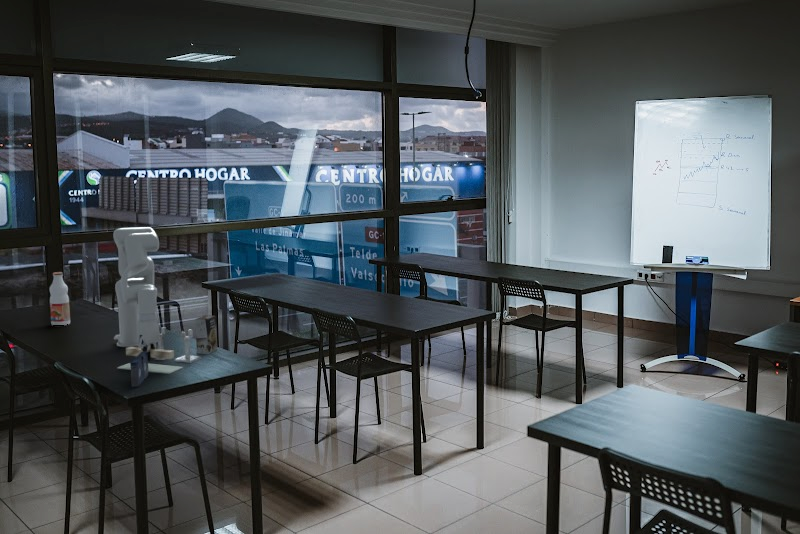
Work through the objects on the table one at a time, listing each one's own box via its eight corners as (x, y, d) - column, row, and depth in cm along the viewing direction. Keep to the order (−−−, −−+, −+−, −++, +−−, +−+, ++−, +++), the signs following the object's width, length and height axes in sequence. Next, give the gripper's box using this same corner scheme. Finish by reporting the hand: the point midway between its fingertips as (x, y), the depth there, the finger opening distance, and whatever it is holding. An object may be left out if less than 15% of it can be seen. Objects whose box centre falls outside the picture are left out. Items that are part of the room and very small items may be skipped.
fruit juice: (72, 324, 426) (69, 272, 423) (54, 327, 421) (51, 274, 417) (67, 321, 434) (64, 270, 430) (49, 324, 428) (45, 272, 424)
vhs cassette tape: (142, 374, 328) (141, 351, 326) (150, 374, 328) (148, 351, 326) (130, 387, 309) (128, 362, 308) (137, 387, 310) (136, 362, 308)
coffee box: (209, 354, 361) (208, 319, 359) (196, 353, 362) (194, 318, 360) (217, 349, 370) (216, 315, 368) (204, 349, 371) (203, 314, 369)
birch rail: (126, 355, 339) (125, 348, 339) (130, 353, 342) (130, 346, 341) (169, 359, 332) (169, 352, 331) (174, 357, 334) (173, 350, 334)
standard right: (174, 361, 349) (173, 332, 347) (185, 357, 356) (184, 328, 354) (190, 362, 346) (189, 333, 344) (201, 358, 353) (199, 329, 352)
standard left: (148, 358, 353) (146, 329, 352) (159, 354, 361) (157, 326, 359) (163, 360, 351) (161, 331, 349) (174, 356, 358) (173, 327, 356)
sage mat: (117, 368, 337) (117, 367, 337) (132, 362, 347) (132, 361, 347) (169, 373, 329) (169, 372, 329) (183, 367, 338) (183, 366, 338)
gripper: (152, 312, 343) (154, 354, 346) (127, 320, 328) (129, 363, 331) (167, 313, 341) (169, 356, 343) (142, 321, 326) (145, 365, 328)
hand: (149, 359), depth 337 cm, fingers closed on birch rail, 3 cm apart
